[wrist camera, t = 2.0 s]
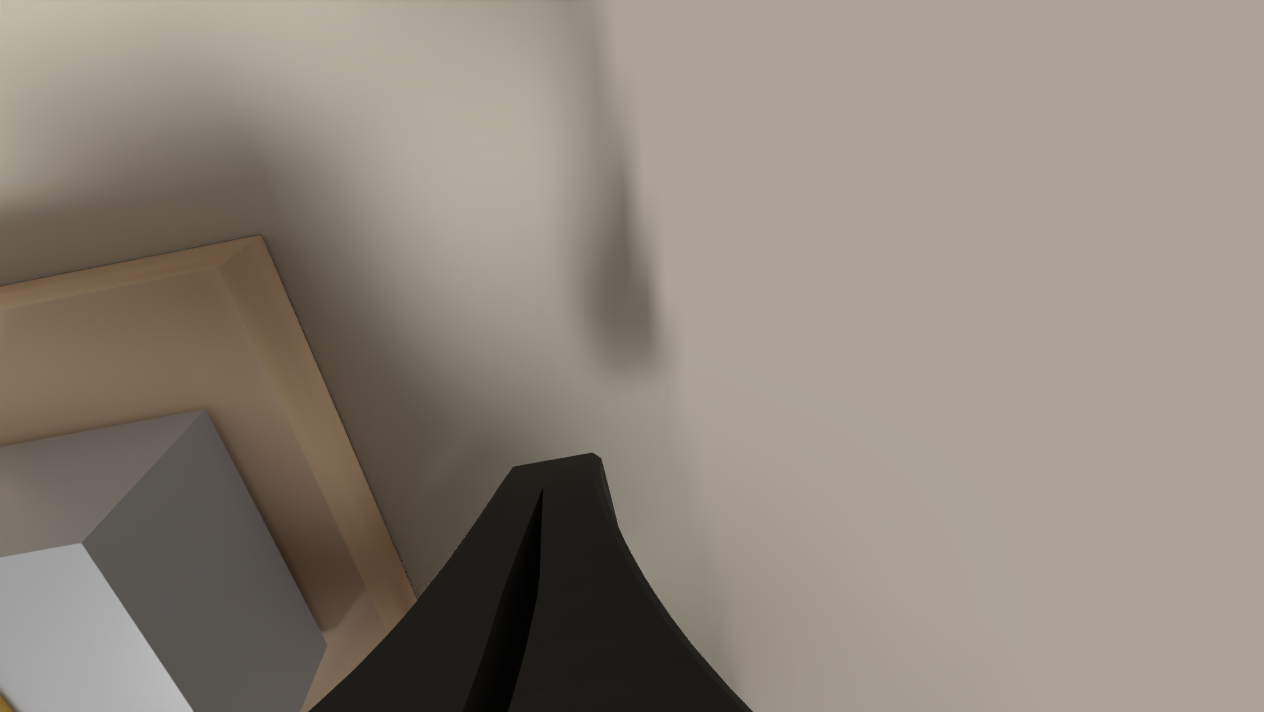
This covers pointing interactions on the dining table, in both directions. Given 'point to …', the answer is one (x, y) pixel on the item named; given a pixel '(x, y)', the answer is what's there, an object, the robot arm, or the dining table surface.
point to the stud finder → (144, 578)
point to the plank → (214, 411)
